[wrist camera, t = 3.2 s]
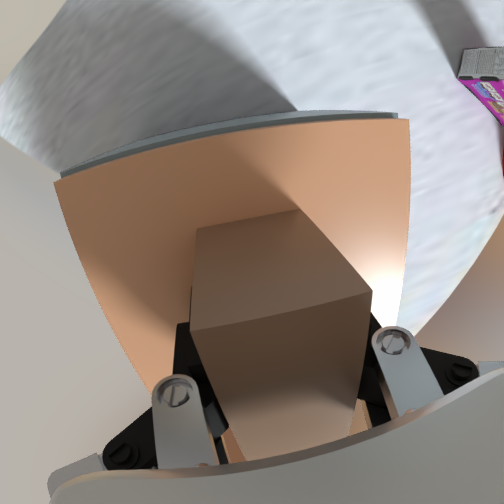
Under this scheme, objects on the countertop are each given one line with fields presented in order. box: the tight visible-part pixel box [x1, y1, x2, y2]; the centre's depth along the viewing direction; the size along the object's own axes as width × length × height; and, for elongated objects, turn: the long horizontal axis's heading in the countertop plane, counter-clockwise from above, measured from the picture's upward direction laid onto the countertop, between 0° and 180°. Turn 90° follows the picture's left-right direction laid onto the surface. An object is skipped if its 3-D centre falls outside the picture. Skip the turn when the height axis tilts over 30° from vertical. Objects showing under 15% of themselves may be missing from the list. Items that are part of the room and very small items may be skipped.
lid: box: [54, 118, 411, 461], centre depth 10 cm, size 13×13×8 cm
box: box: [60, 110, 398, 178], centre depth 18 cm, size 13×13×14 cm
